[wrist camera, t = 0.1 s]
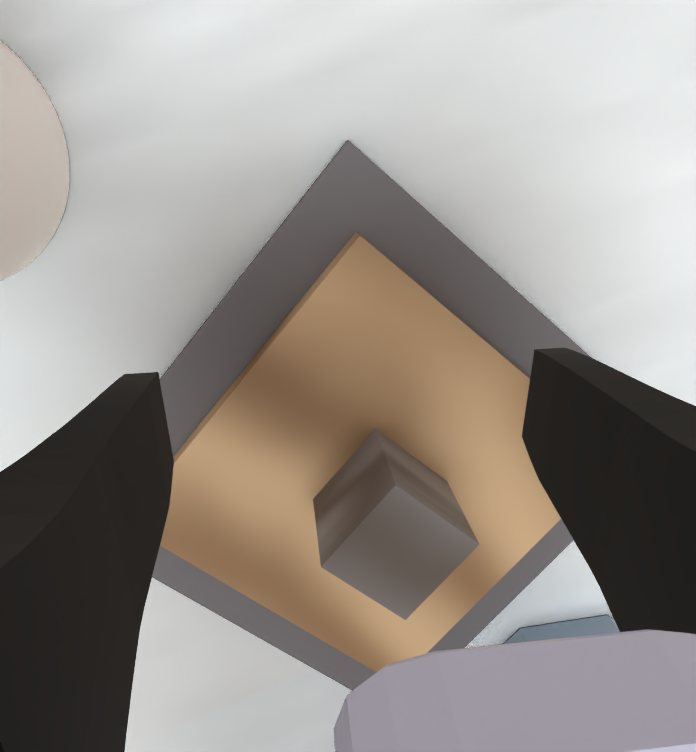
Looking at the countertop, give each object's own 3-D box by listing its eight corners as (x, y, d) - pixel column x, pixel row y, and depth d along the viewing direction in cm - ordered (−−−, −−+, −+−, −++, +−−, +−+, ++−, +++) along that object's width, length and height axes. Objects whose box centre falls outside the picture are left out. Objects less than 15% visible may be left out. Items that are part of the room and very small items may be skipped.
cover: (391, 665, 28) (416, 771, 23) (130, 509, 24) (96, 599, 19) (609, 445, 25) (686, 515, 21) (356, 231, 21) (379, 257, 17)
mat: (394, 707, 29) (396, 715, 29) (54, 514, 24) (51, 520, 24) (672, 432, 26) (678, 436, 26) (347, 140, 21) (348, 140, 20)
